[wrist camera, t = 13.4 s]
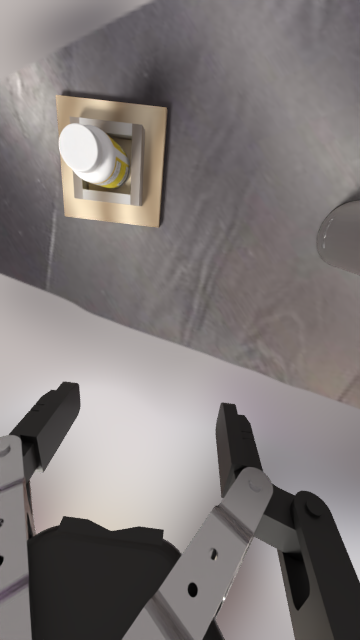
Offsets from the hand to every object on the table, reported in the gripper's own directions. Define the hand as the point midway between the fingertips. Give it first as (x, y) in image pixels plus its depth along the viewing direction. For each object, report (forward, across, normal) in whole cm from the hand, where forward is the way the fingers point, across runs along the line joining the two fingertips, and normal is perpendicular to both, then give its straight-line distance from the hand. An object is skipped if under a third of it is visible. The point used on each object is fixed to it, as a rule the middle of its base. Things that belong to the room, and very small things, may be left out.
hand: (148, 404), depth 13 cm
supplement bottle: (+27, +11, -15) cm, 33 cm away
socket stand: (+28, +11, -15) cm, 34 cm away
